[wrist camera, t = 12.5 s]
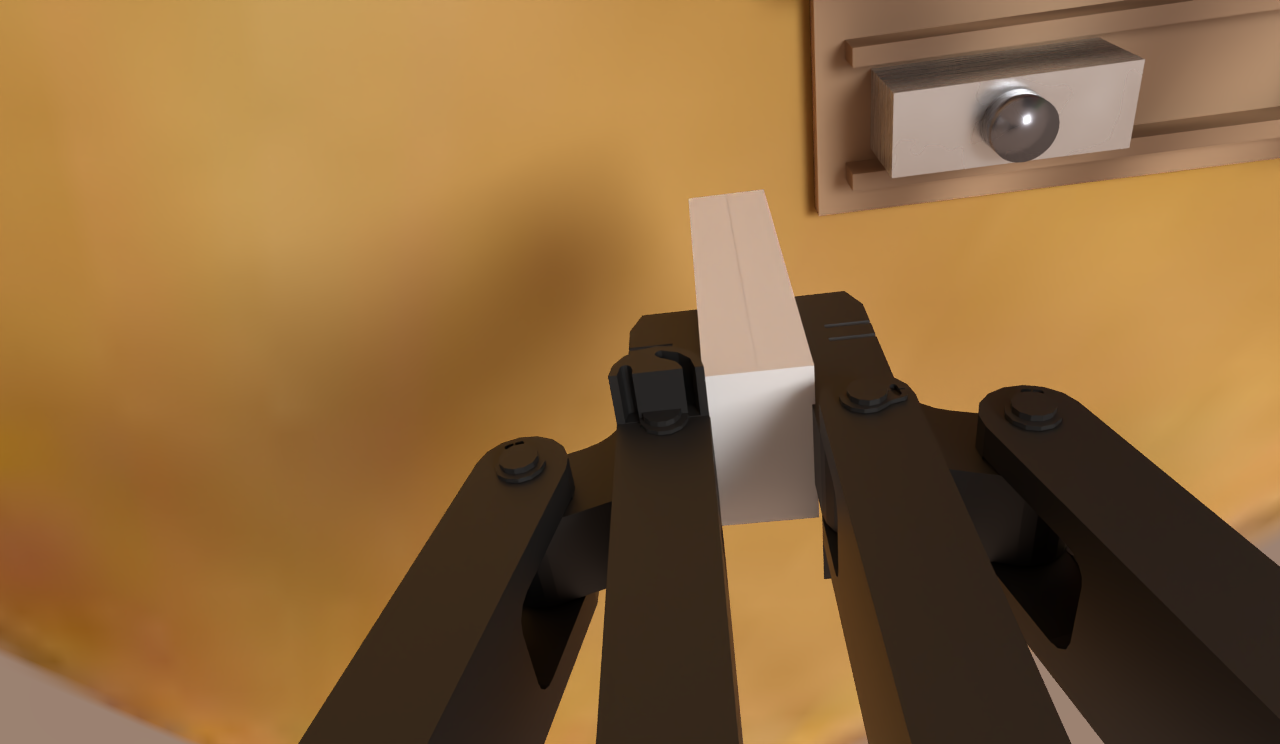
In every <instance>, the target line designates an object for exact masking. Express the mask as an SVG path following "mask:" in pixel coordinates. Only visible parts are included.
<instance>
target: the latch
mask: <svg viewBox="0 0 1280 744" xmlns="http://www.w3.org/2000/svg"><path fill="white" fill-rule="evenodd" d="M1144 63H1145V59H1143V58H1141V57H1139V56H1137V55H1135V54H1133V53H1131V52H1129V51H1127V50H1124V49H1122V48H1120V47H1118V46H1116V45H1114V44H1112V43H1110V42H1108V41H1105V40H1103V39H1101V38H1099V37H1097V38H1090V39H1082V40H1075V41H1068V42H1061V43H1053V44H1046V45H1039V46H1032V47H1024V48H1017V49H1010V50H1003V51H995V52H988V53H981V54H974V55H966V56H959V57H952V58H945V59H937V60H930V61H923V62H916V63H908V64H901V65H894V66H887V67H879V68H872V69H871V122H870V148H871V149H872V151H873V152H874V154H875V155H876V156H877V158H878V159H879V161H880V162H881V164H882V165H883V166H884V168H885V169H886V171H887V172H888V174H889V175H890V176H891V178H898V177H905V176H913V175H921V174H929V173H937V172H944V171H952V170H960V169H968V168H976V167H984V166H991V165H999V164H1007V163H1021V162H1027V161H1030V160H1038V159H1046V158H1054V157H1062V156H1069V155H1077V154H1085V153H1093V152H1101V151H1109V150H1116V149H1124V148H1129V147H1130V141H1131V136H1132V130H1133V124H1134V119H1135V113H1136V108H1137V102H1138V96H1139V91H1140V85H1141V79H1142V74H1143V68H1144Z"/></svg>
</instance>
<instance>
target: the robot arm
mask: <svg viewBox="0 0 1280 744" xmlns="http://www.w3.org/2000/svg"><path fill="white" fill-rule="evenodd" d="M689 210H690V223H691V236H692V248H693V261H694V274H695V287H696V299H697V310H689V311H680V312H671V313H662V314H653V315H644V316H642V317H641V318H640V319H639V321H638V322H637V323H636V325H635V326H634V327H633V328H632V330H631V331H630V340H629V355H626V356H624V357H623V358H621V359H620V360H619V361H618V362H617V363H616V364H614V365H613V366H612V368H611V371H610V373H609V375H608V379H609V384H610V390H611V395H612V400H613V406H614V411H615V416H616V422H617V430H616V431H615V432H614V433H613V434H612V435H611V436H610V437H608V438H606V439H605V440H603V441H602V442H600V443H598V444H596V445H593V446H591V447H588V448H586V449H583V450H580V451H576V452H573V453H570V454H567V453H566V451H565V449H564V447H563V446H562V445H560V444H559V443H557V442H556V441H554V440H553V439H548V438H543V437H538V436H536V437H522V438H517V439H514V440H511V441H508V442H504V443H502V444H500V445H498V446H497V447H495V448H493V449H492V450H490V451H488V452H487V453H486V454H485V455H484V456H483V457H482V458H481V459H480V460H479V461H478V463H477V464H476V465H475V467H474V469H473V470H472V472H471V473H470V475H469V476H468V478H467V480H466V481H465V483H464V484H463V486H462V487H461V489H460V491H459V492H458V494H457V495H456V497H455V498H454V500H453V502H452V503H451V505H450V506H449V508H448V509H447V511H446V513H445V514H444V516H443V517H442V519H441V520H440V522H439V524H438V525H437V527H436V528H435V530H434V531H433V533H432V535H431V536H430V538H429V539H428V541H427V542H426V544H425V546H424V547H423V549H422V550H421V552H420V553H419V555H418V557H417V558H416V560H415V561H414V563H413V564H412V566H411V568H410V569H409V571H408V572H407V574H406V575H405V577H404V579H403V580H402V582H401V583H400V585H399V586H398V588H397V590H396V591H395V593H394V594H393V596H392V597H391V599H390V601H389V602H388V604H387V605H386V607H385V608H384V610H383V612H382V613H381V615H380V616H379V618H378V619H377V621H376V623H375V624H374V626H373V627H372V629H371V630H370V632H369V634H368V635H367V637H366V638H365V640H364V641H363V643H362V645H361V646H360V648H359V649H358V651H357V652H356V654H355V656H354V657H353V659H352V660H351V662H350V663H349V665H348V667H347V668H346V670H345V671H344V673H343V674H342V676H341V677H340V679H339V681H338V682H337V684H336V685H335V687H334V688H333V690H332V692H331V693H330V695H329V696H328V698H327V699H326V701H325V703H324V704H323V706H322V707H321V709H320V710H319V712H318V714H317V715H316V717H315V718H314V720H313V721H312V723H311V725H310V726H309V728H308V729H307V731H306V732H305V734H304V736H303V737H302V739H301V740H300V742H299V743H298V744H544V743H545V740H546V737H547V735H548V732H549V730H550V727H551V724H552V722H553V719H554V716H555V714H556V711H557V709H558V706H559V703H560V701H561V698H562V695H563V693H564V690H565V687H566V685H567V682H568V680H569V677H570V674H571V672H572V669H573V666H574V664H575V661H576V659H577V656H578V653H579V651H580V648H581V645H582V643H583V640H584V638H585V635H586V632H587V630H588V627H589V624H590V622H591V619H592V616H593V614H594V611H595V609H596V606H597V602H598V595H599V591H600V590H603V589H606V600H605V615H604V630H603V646H602V661H601V676H600V691H599V706H598V722H597V737H596V744H743V738H742V727H741V717H740V706H739V696H738V685H737V675H736V664H735V653H734V643H733V632H732V622H731V611H730V600H729V590H728V579H727V569H726V558H725V548H724V539H723V530H722V526H724V525H735V524H747V523H758V522H770V521H781V520H792V519H804V518H815V517H819V504H818V498H819V503H820V507H821V511H822V522H823V556H824V579H830V578H831V579H832V584H833V588H834V592H835V597H836V601H837V606H838V610H839V615H840V619H841V624H842V628H843V632H844V637H845V641H846V646H847V650H848V655H849V659H850V664H851V668H852V672H853V677H854V681H855V686H856V690H857V695H858V699H859V704H860V708H861V713H862V717H863V721H864V726H865V730H866V735H867V739H868V744H1071V742H1070V740H1069V737H1068V735H1067V733H1066V731H1065V729H1064V726H1063V724H1062V722H1061V720H1060V717H1059V715H1058V713H1057V711H1056V708H1055V706H1054V704H1053V702H1052V700H1051V697H1050V695H1049V693H1048V690H1047V688H1046V686H1045V684H1044V681H1043V679H1042V677H1041V675H1040V672H1039V670H1038V668H1037V666H1036V663H1035V661H1034V659H1033V657H1032V654H1031V652H1030V650H1029V648H1028V646H1029V647H1030V648H1031V650H1032V651H1033V652H1034V653H1035V655H1036V656H1037V657H1038V659H1039V660H1040V661H1041V662H1042V664H1043V665H1044V666H1045V668H1046V669H1047V670H1048V671H1049V673H1050V674H1051V675H1052V677H1053V678H1054V679H1055V681H1056V682H1057V683H1058V684H1059V686H1060V687H1061V688H1062V690H1063V691H1064V692H1065V693H1066V695H1067V696H1068V697H1069V699H1070V700H1071V701H1072V702H1073V704H1074V705H1075V706H1076V708H1077V709H1078V710H1079V711H1080V713H1081V714H1082V715H1083V717H1084V718H1085V719H1086V720H1087V722H1088V723H1089V724H1090V726H1091V727H1092V728H1093V729H1094V731H1095V732H1096V733H1097V735H1098V736H1099V737H1100V738H1101V740H1102V741H1103V742H1104V744H1280V566H1278V565H1277V564H1276V563H1275V562H1273V561H1272V560H1271V559H1269V557H1267V556H1266V555H1265V554H1264V553H1262V552H1261V551H1260V550H1259V549H1258V548H1256V547H1255V546H1254V545H1253V544H1251V543H1250V542H1249V541H1248V540H1247V539H1245V538H1244V537H1243V536H1242V535H1240V534H1239V533H1238V532H1237V531H1236V530H1234V529H1233V528H1232V527H1231V526H1230V525H1228V524H1227V523H1226V522H1225V521H1223V520H1222V519H1221V518H1220V517H1219V516H1217V515H1216V514H1215V513H1214V512H1212V511H1211V510H1210V509H1209V508H1208V507H1206V506H1205V505H1204V504H1203V503H1201V502H1200V501H1199V500H1198V499H1197V498H1195V497H1194V496H1193V495H1192V494H1190V493H1189V492H1188V491H1187V490H1186V489H1184V488H1183V487H1182V486H1181V485H1179V484H1178V483H1177V482H1176V481H1175V480H1173V479H1172V478H1171V477H1170V476H1168V475H1167V474H1166V473H1165V472H1164V471H1162V470H1161V469H1160V468H1159V467H1158V466H1156V465H1155V464H1154V463H1153V462H1151V461H1150V460H1149V459H1148V458H1147V457H1145V456H1144V455H1143V454H1142V453H1140V452H1139V451H1138V450H1137V449H1136V448H1134V447H1133V446H1132V445H1131V444H1129V443H1128V442H1127V441H1126V440H1125V439H1123V438H1122V437H1121V436H1120V435H1118V434H1117V433H1116V432H1115V431H1114V430H1112V429H1111V428H1110V427H1109V426H1107V425H1106V424H1105V423H1104V422H1103V421H1101V420H1100V419H1099V418H1098V417H1096V416H1095V415H1094V414H1093V413H1092V412H1090V411H1089V410H1088V409H1087V408H1085V407H1084V406H1083V405H1082V404H1081V403H1079V402H1078V401H1076V400H1075V399H1073V398H1071V397H1069V396H1068V395H1066V394H1064V393H1062V392H1059V391H1055V390H1052V389H1049V388H1045V387H1038V386H1026V385H1020V386H1012V387H1004V388H1001V389H999V390H996V391H994V392H991V393H989V394H988V395H987V396H986V397H985V398H984V399H983V400H982V401H981V402H980V403H979V413H969V412H959V411H950V410H944V409H938V408H933V407H930V406H927V405H924V404H921V403H919V401H918V399H917V396H916V394H915V393H914V392H913V391H912V389H911V388H910V387H909V386H908V385H907V384H906V383H904V382H902V381H900V380H898V379H896V378H894V377H893V374H892V372H891V370H890V367H889V365H888V362H887V360H886V358H885V355H884V353H883V351H882V348H881V346H880V344H879V341H878V339H877V337H875V332H874V330H873V327H872V325H871V323H870V321H869V318H868V315H867V313H866V311H865V308H864V306H863V304H862V303H861V302H859V301H858V300H856V299H855V298H853V297H852V296H851V295H849V294H848V293H846V292H845V291H841V292H832V293H823V294H814V295H805V296H796V297H794V294H793V290H792V287H791V283H790V280H789V276H788V273H787V269H786V266H785V262H784V259H783V255H782V252H781V248H780V245H779V241H778V238H777V234H776V231H775V227H774V224H773V220H772V217H771V213H770V210H769V207H768V203H767V200H766V196H765V193H764V189H763V190H755V191H747V192H738V193H730V194H722V195H714V196H706V197H698V198H689ZM1027 644H1028V645H1027Z"/></svg>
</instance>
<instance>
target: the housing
mask: <svg viewBox="0 0 1280 744" xmlns="http://www.w3.org/2000/svg"><path fill="white" fill-rule="evenodd" d="M810 21H811V58H812V96H813V134H814V171H815V208H816V211H817V213H818V215H819V216H823V215H831V214H839V213H847V212H854V211H862V210H870V209H878V208H886V207H894V206H902V205H910V204H918V203H926V202H934V201H942V200H950V199H958V198H966V197H974V196H982V195H990V194H998V193H1006V192H1014V191H1022V190H1030V189H1038V188H1046V187H1054V186H1062V185H1070V184H1078V183H1086V182H1093V181H1101V180H1109V179H1117V178H1125V177H1133V176H1141V175H1149V174H1157V173H1165V172H1173V171H1181V170H1189V169H1197V168H1205V167H1213V166H1221V165H1229V164H1237V163H1245V162H1253V161H1261V160H1269V159H1277V158H1280V0H810ZM1097 37H1099V38H1101V39H1103V40H1105V41H1108V42H1110V43H1112V44H1114V45H1116V46H1118V47H1120V48H1122V49H1124V50H1127V51H1129V52H1131V53H1133V54H1135V55H1137V56H1139V57H1141V58H1143V59H1145V63H1144V68H1143V74H1142V79H1141V85H1140V91H1139V96H1138V102H1137V108H1136V113H1135V119H1134V124H1133V130H1132V136H1131V141H1130V147H1129V148H1124V149H1116V150H1109V151H1101V152H1093V153H1085V154H1077V155H1069V156H1062V157H1054V158H1046V159H1038V160H1030V161H1027V162H1021V163H1007V164H999V165H991V166H984V167H976V168H968V169H960V170H952V171H944V172H937V173H929V174H921V175H913V176H905V177H898V178H891V176H890V175H889V174H888V172H887V171H886V169H885V168H884V166H883V165H882V164H881V162H880V161H879V159H878V158H877V156H876V155H875V154H874V152H873V151H872V149H871V148H870V122H871V69H872V68H879V67H887V66H894V65H901V64H908V63H916V62H923V61H930V60H937V59H945V58H952V57H959V56H966V55H974V54H981V53H988V52H995V51H1003V50H1010V49H1017V48H1024V47H1032V46H1039V45H1046V44H1053V43H1061V42H1068V41H1075V40H1082V39H1090V38H1097Z"/></svg>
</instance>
